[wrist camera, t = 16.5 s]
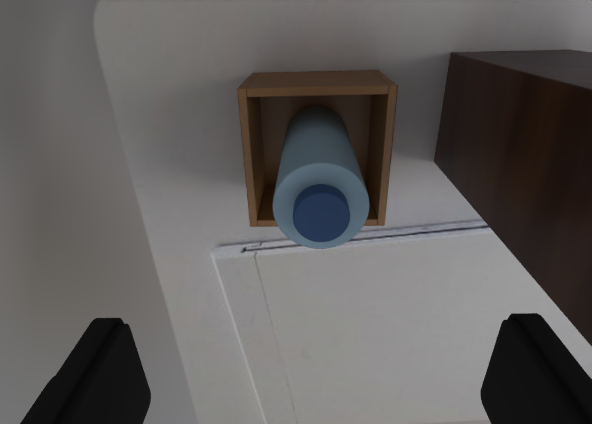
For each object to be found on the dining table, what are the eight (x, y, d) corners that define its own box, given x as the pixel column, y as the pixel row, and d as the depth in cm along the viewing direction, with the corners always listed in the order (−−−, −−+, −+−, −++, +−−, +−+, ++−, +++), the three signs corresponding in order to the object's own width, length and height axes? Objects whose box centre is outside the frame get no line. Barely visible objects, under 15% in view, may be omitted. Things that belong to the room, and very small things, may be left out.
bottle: (278, 154, 29) (258, 244, 18) (297, 96, 27) (289, 156, 16) (333, 172, 30) (349, 271, 18) (356, 117, 28) (390, 190, 16)
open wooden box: (260, 187, 31) (250, 226, 25) (252, 72, 27) (236, 88, 21) (370, 186, 31) (384, 225, 25) (378, 69, 27) (398, 84, 21)
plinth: (433, 162, 30) (618, 379, 12) (450, 52, 26) (753, 132, 8) (537, 160, 29) (884, 381, 12) (569, 49, 26) (1148, 125, 8)
